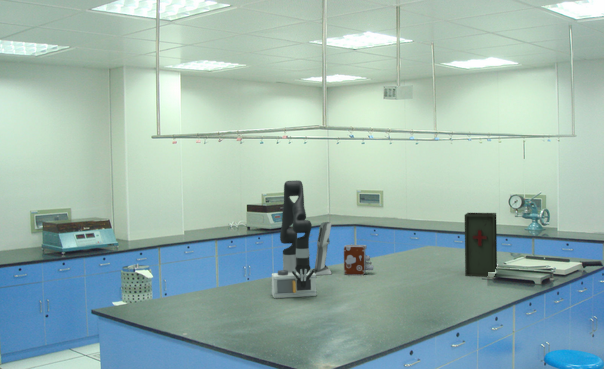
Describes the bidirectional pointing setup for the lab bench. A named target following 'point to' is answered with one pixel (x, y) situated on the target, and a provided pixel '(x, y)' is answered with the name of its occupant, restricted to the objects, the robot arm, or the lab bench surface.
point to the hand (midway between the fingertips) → (303, 287)
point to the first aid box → (480, 244)
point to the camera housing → (307, 291)
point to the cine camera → (356, 260)
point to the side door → (286, 286)
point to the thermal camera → (322, 250)
